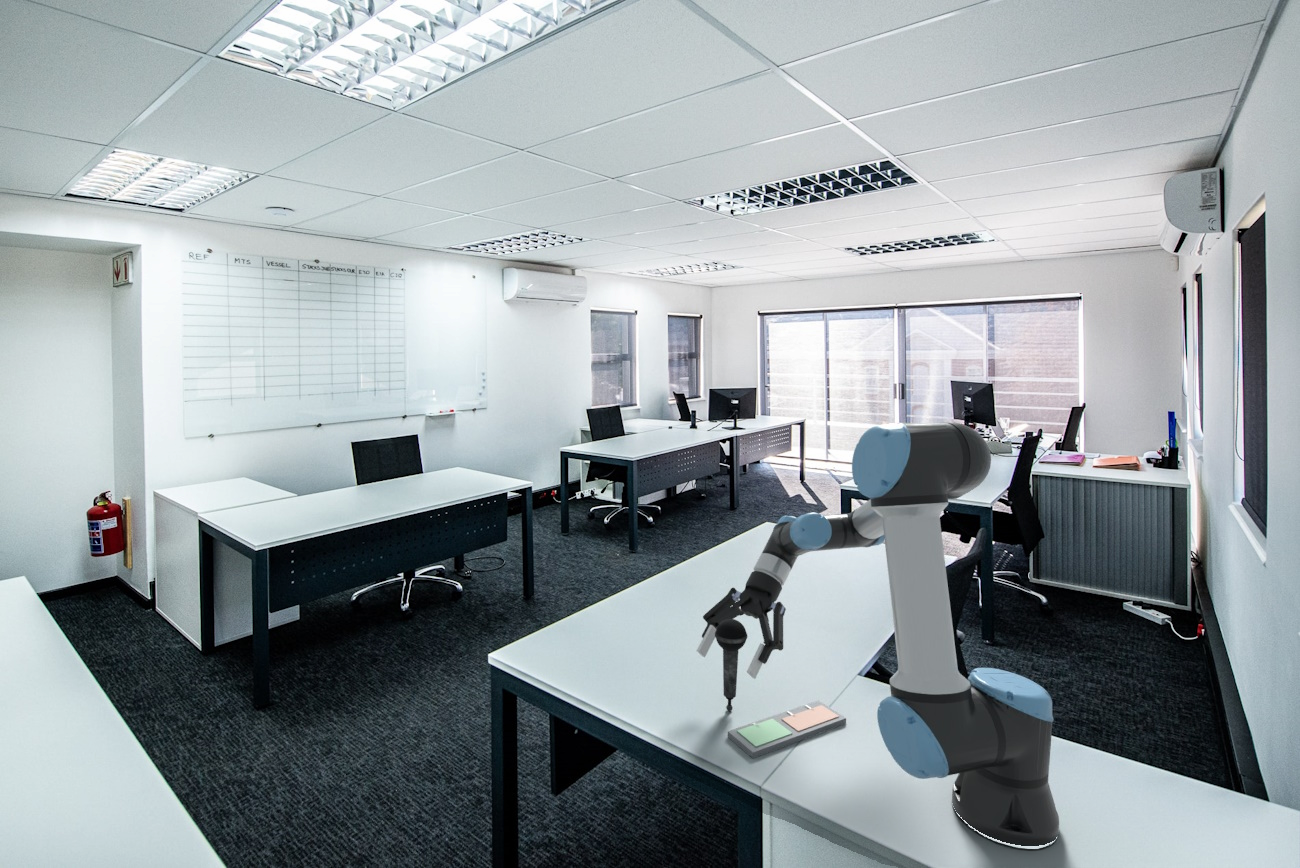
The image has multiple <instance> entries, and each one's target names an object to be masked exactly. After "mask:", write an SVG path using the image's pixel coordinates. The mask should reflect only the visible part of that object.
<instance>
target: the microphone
mask: <svg viewBox="0 0 1300 868" xmlns="http://www.w3.org/2000/svg"><path fill="white" fill-rule="evenodd" d="M715 639H716V642H717V644H718V645H719V647H720V648H721V649H722V662H723V663H722V665H723V668H722V669H723V670H722V671H723V672H722V674H723V675H722V677H723V679H722V680H723V696H724V697H725V698H726V699H727V705H726V707H725V708H726V710H727V711H729V712H731V711H732V710H733V705H732V701H733V699H734V698H735V697H736V696H737V681H738V680H737V679H738V665H739V664H738V663H739V650H741V649H742V648H743V647H744V645H745V644H746V642H747V639H748V633H747V631H746V628H745V626H744V625H743V624H742V623H741V622H740V621H739V620H737V619H735V618H733V619H727V620H724V621H722V622H721V623H720V624H719V625H718V627H717V629H716V631H715Z"/></svg>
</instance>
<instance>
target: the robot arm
mask: <svg viewBox="0 0 1300 868" xmlns="http://www.w3.org/2000/svg"><path fill="white" fill-rule="evenodd" d="M991 464H992V455H991V451H990V448H989V445H988V443H987V442H986V440H985V439H984V437H983V436H982V435H981V434H980V433H979V432H978V431H976V430H975V429H974V428H972V427H970V426H967V425H965V424H963V423H960V422H953V421H952V422H951V421H946V422H945V421H943V422H897V423H896V422H895V423H888V424H881V425H880V424H878V425H875V426H872V427H870V428H868V429H867V430H866V431H865V432H864V433H863V434H862V435H860V437H859V440H858V442H857V443H856V445H855V448H854V451H853V454H852V461H851V474H852V480H853V482H854V484H855V486H857V487H856V489H857V491H858V492H859V493H860V494H861V495H863V496H864V497H866V498H869V499H868V500H867V501H866V502H864V503H863V504H861V505H860V506H859V507H857V508H856V509H854V510H853V511H851V512H849V513H841V514H839V513H838V514H837V513H836V514H827V515H825V514H824V515H823V514H820V513H818V512H808V513H804V514H801V515H799V516H797V517H796V516H794V515H783V516H781V517H780V518H779V520H778V521H777V523H776V524H775V525H774V527H773V530H772V531H771V534H770V536H769V538H768V540H767V542H766V544H765V546H764V548H763V550H762V552H761V553H760V555H759V556H758V559H757V561H756V563H755V564H754V567H753V571H752V572H750V575H749V577H748V578H747V581H746V583H745V586H744V587H745V588H744V590H743V591H741V592H740V591H738V590H737V589H736V588H735V587H732V588H730V590H729V591H728V593H727V594H726V595H725V596H724V597H722V598H721V599H720V600H719V602H717V603H716V604H715V605H714V606H712V607H711V608H710V609H709V610H708V611H707V612H706V613H704V615H703V616H702V618H703V620H704V621H705V622H706V624H707V625H706V626H705V628H704V631H703V632H702V634H701V638H702V640H701V642H700V644H699V645H698V647H697V648H696V652H697V653H698V654H699V655H700V656H701V657H702V658H706V656H707V655H708V652H709V650H710V648H711V646H712V644H713V642H714V640H715V639H716V637H715V631H716V629H717V627H718V625H719V624H720V623H721V622H722V621H724V620H727V619H735V618H737V617H739V616H743V615H745V616H747V617H752V618H753V619H756V620H757V619H758V620H759V621H758V622H759V625H760V629H761V633H762V638H763V643H761V642H760V643H759V644H758V647H757V649H756V651H755V653H754V656H753V658H752V660H751V662H750V664H749V666H748V668H747V671H746V673H747V674H748V675H749V677H751V678H752V679H754V680H755V679H756V678H757V676H758V673H759V672H760V670H761V668H762V665H766V664H767V662H768V660H769V658H770V656H771V654H772V652H773V651H775V650H778V651H782V650H783V649H784V616H785V613H786V610H787V609H786V607H785V605H783V603H782V602H781V601H777V600H778V598H779V596H780V594H781V592H782V589H783V586H784V585H785V584H786V581H787V579H788V577H789V575H790V573H791V571H792V570H793V567H794V565H795V563H796V561H797V559H798V558H799V556H802V555H805V554H807V553H809V552H819V551H830V550H831V551H832V550H840V549H842V550H843V549H851V548H853V549H854V548H870V547H871V548H872V547H875V546H879V545H881V544H883V543H884V545H885V546H884V548H885V555H886V556H885V558H886V563H887V564H886V566H887V575H888V583H889V584H888V585H889V592H890V593H889V595H890V601H891V611H892V613H891V614H892V621H893V630H894V638H895V639H894V640H895V648H896V649H895V651H896V657H897V658H896V659H897V665H898V668H897V670H896V672H894V674H892V676H891V677H890V678H889V687H890V688H889V689H890V696H887V697H886V698H885V697H884V699H882V700H881V701H880V703H879V706H878V708H877V712H876V713H877V715H876V716H877V724H878V729H879V732H880V735H881V737H882V740H883V742H884V744H885V747H886V748H887V751H888V752H889V753H890V755H891V757H892V759H893V760H894V762H895V763H897V765H898V766H899V767H900V768H901V769H902V770H903V771H904V772H906V773H907V774H908V775H909V776H911V777H914V778H917V779H923V780H924V779H925V780H927V779H934V778H937V779H943V778H946V777H948V776H953V775H956V779H955V781H954V783H953V785H952V791H951V804H952V803H953V806H954V808H955V810H956V812H957V813H958V814H959V815H960V817H962V819H963V820H965V821H966V822H967V823H968V824H969V825H970V826H972V827H973V828H975V829H976V830H978V831H979V832H981V833H983V834H985V835H987V836H989V837H992V838H994V839H997V840H1000V841H1002V842H1006V843H1010V844H1015V845H1021V846H1039V845H1045V844H1047V843H1050V842H1052V841H1054V840H1055V839H1056V837H1057V836H1058V837H1059V834H1058V833H1060V830H1059V829H1060V818H1059V817H1060V816H1059V814H1058V811H1057V807H1056V803H1055V801H1054V796H1053V794H1052V790H1051V787H1050V783H1049V773H1050V761H1051V760H1050V759H1051V748H1052V747H1051V746H1052V733H1053V722H1054V716H1053V700H1052V697H1051V695H1050V693H1049V692H1048V691H1047V690H1046V689H1045V688H1044V687H1042V686H1041V685H1040V684H1039V683H1036V682H1034V681H1033V680H1031V679H1029V678H1027V677H1025V676H1022V675H1020V674H1017V673H1013V672H1011V671H1007V670H1003V669H999V668H994V667H976V668H974V669H972V670H971V671H970V674H969V676H967V678H966V677H965V676H964V675H962V673H960V671H959V669H958V668H959V667H958V659H957V653H956V651H957V650H956V645H955V643H956V642H955V634H954V627H953V625H954V624H953V617H952V610H951V601H950V593H949V587H948V576H947V567H946V560H945V551H944V543H943V542H944V541H943V534H942V527H941V526H942V525H941V519H940V517H941V514H942V513H943V511H944V510H945V509H946V508H947V507H948V505H949V501H950V500H951V501H953V500H957V499H959V498H960V497H962V496H964V495H966V494H968V493H970V492H971V491H973V490H974V489H976V488H977V487H979V486H980V485H981V484H982V483H983V482H984V481H985V479H986V478H987V476H988V474H989V472H990V469H991ZM776 601H777V602H776ZM771 611H773V615H772V616H773V617H772V620H773V624H772V627H773V628H772V631H771V627H770V622H769V621H770V620H769V617H768V616H769V615H768V613H770V612H771ZM772 632H773V633H772ZM953 806H952V807H953Z"/></svg>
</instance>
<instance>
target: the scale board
mask: <svg viewBox="0 0 1300 868" xmlns="http://www.w3.org/2000/svg"><path fill="white" fill-rule="evenodd" d="M843 725H847V717H845V716H844V715H842V714H841V713H839V712H838V711H836V710H834V709H833V708H831V707H829V706H828V705H827V704H825V703H824V702H821V701H820V700H818V699H817V700H815V701H813V702H810V703H806V704H804V705H802V706H801V705H800V706H798V707H795V708H792V709H790V710H786V711H783V712H780V713H777V714H774V715H772V716H768V717H766V718H763V719H759V720H756V721H754V722H751V723H748V724H745V725H743V726H738V727H736V728H734V729H730V730H727V738H728V739H729V740H731V741H732V742H733V743H734V744H735V745H736V746H737V747H739V748H740V749H741V750H742V751H743V752H744V753H746V754H747V755H748V756H749V755H750V756H749V757H751V759H756V758H758V757H760V755H761V756H763V755H766V754H769V753H771V752H773V751H776V750H780V749H782V748H784V747H785V748H786V747H787V746H790V745H793V744H795V743H798V742H801V741H804V740H806V739H808V738H811V737H814V736H817V735H819V734H822V733H825V732H827V731H830V730H832V729H835V728H837V727H841V726H843ZM757 756H758V757H757ZM755 757H756V758H755Z"/></svg>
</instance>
